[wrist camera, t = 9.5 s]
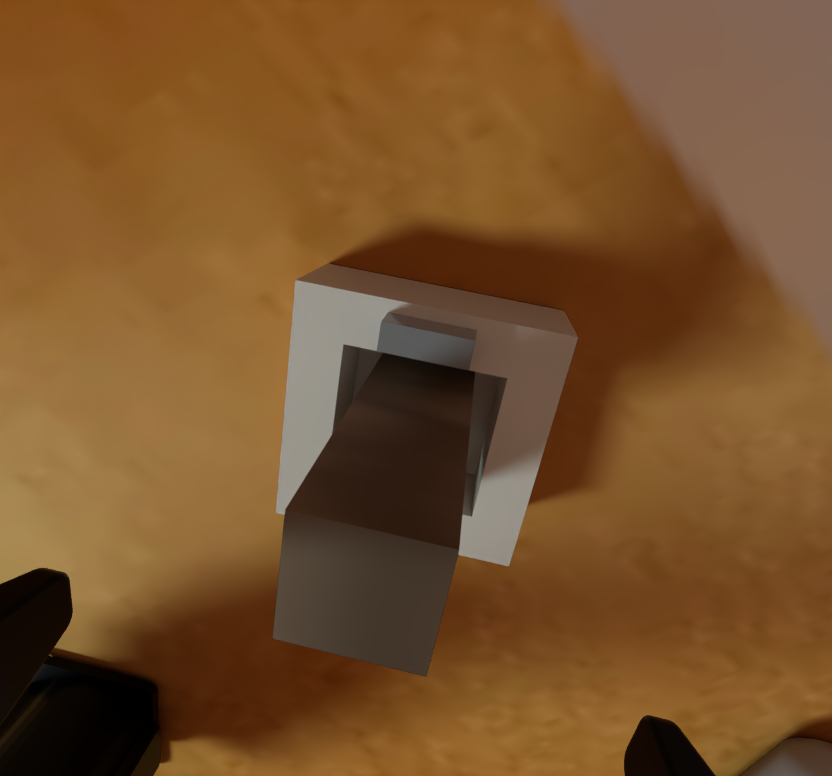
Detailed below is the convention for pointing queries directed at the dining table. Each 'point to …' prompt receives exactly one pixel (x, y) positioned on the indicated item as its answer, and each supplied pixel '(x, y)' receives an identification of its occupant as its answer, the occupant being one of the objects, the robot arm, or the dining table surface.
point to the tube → (795, 759)
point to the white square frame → (441, 344)
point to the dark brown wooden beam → (380, 520)
